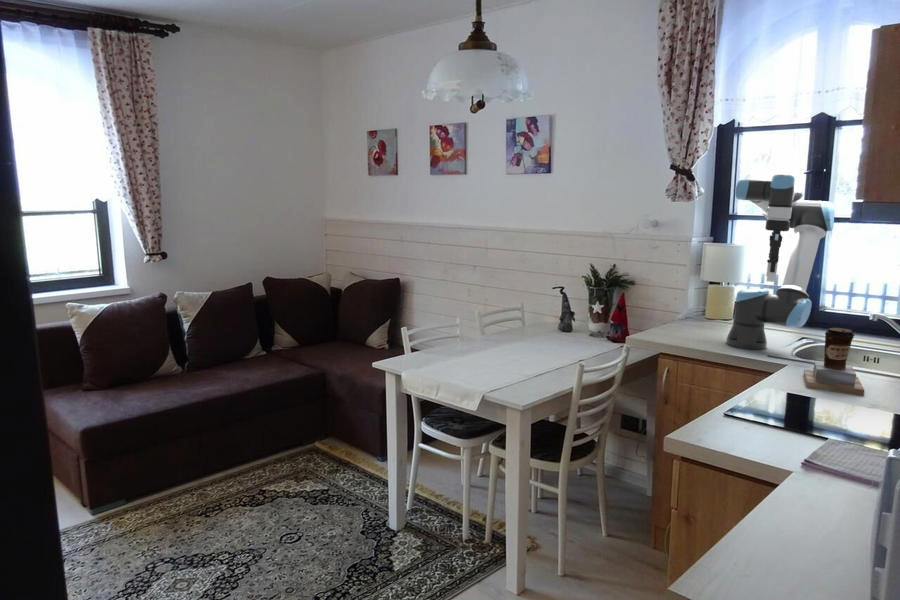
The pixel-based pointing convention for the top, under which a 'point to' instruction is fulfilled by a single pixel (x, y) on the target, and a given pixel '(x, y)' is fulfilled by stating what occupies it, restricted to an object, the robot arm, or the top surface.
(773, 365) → the top surface
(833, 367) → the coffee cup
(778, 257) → the robot arm
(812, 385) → the stepped plinth
